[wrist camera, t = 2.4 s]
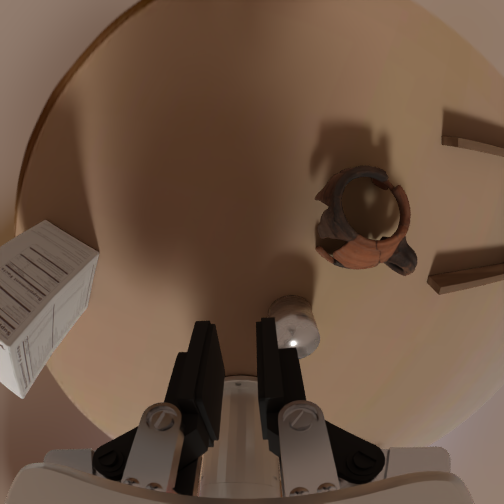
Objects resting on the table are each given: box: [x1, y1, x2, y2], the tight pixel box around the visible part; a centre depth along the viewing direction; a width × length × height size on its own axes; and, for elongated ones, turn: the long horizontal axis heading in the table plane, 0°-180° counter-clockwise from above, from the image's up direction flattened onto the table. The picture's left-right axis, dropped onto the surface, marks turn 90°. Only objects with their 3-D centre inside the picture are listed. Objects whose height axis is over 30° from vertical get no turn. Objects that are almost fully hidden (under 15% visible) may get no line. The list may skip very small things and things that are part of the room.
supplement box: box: [0, 220, 99, 399], centre depth 21 cm, size 10×9×17 cm
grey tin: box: [268, 295, 320, 359], centre depth 29 cm, size 5×5×5 cm
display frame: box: [427, 136, 504, 295], centre depth 24 cm, size 18×19×3 cm
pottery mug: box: [315, 166, 417, 276], centre depth 24 cm, size 12×10×8 cm
